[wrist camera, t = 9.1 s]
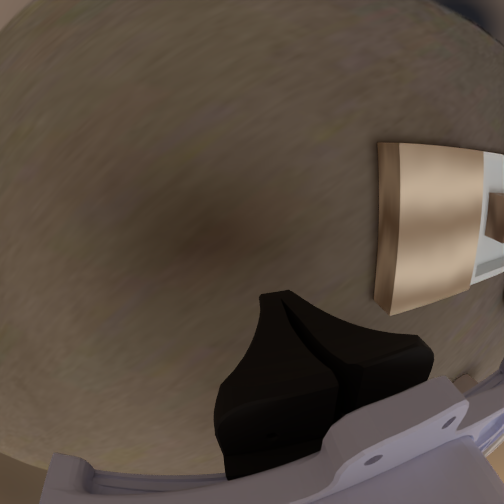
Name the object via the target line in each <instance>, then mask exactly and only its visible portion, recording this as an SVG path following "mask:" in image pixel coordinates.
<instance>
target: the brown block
mask: <svg viewBox="0 0 504 504" xmlns="http://www.w3.org/2000/svg"><path fill="white" fill-rule="evenodd" d="M485 236H487V237H489V238H492V239H494V240H496V241H498V242H500V243H502V244H503V243H504V193H490V192H489V202H488V212H487V221H486V229H485Z"/></svg>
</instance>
